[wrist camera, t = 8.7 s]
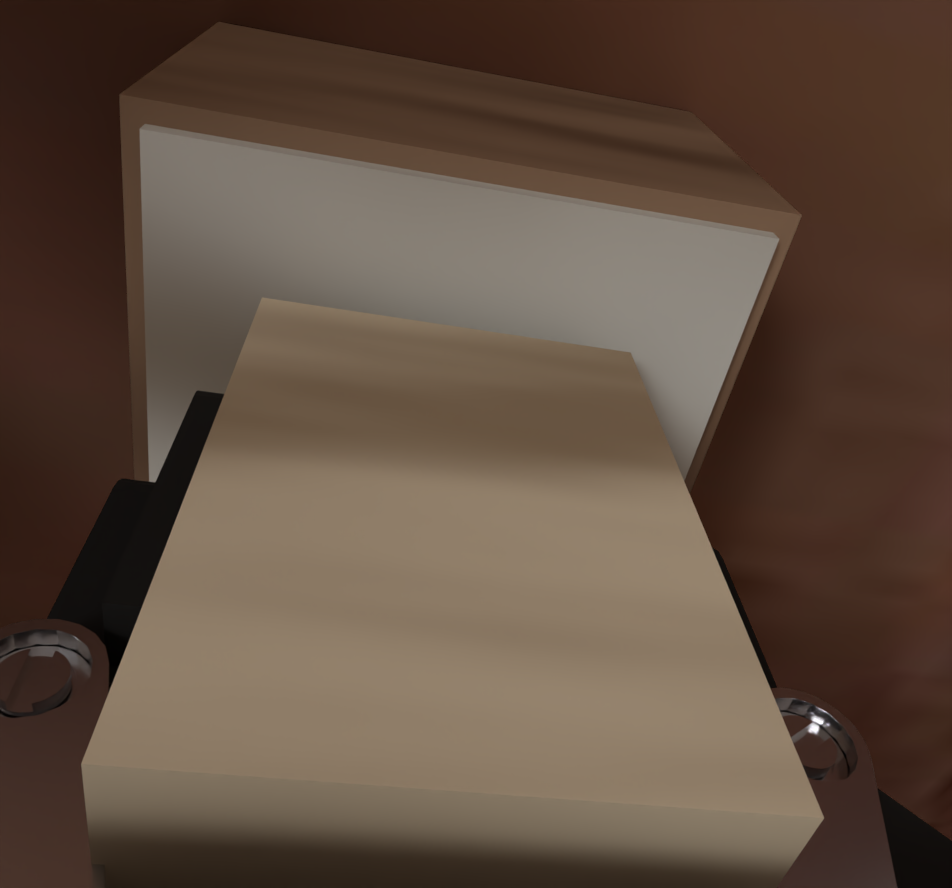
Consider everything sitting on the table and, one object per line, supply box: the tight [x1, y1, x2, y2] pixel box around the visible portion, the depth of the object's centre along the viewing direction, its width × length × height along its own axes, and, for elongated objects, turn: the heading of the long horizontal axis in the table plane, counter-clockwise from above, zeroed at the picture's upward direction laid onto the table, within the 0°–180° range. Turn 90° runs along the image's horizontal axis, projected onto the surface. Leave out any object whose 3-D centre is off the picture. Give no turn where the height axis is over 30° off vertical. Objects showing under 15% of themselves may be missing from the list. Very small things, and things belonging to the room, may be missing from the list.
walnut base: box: [119, 22, 802, 494], centre depth 16 cm, size 9×9×6 cm
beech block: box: [81, 298, 824, 888], centre depth 10 cm, size 5×5×7 cm
